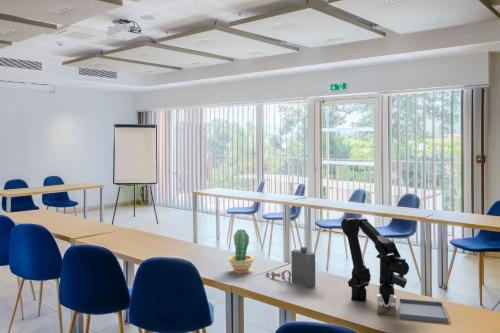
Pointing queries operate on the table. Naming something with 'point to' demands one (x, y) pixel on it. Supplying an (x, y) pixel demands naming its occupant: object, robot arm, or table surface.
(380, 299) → the gray rectangular block
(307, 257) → the flask
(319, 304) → the table surface
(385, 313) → the socket block
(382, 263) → the robot arm
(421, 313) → the tray
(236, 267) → the potted cactus
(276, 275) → the decorative key
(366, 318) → the table surface
